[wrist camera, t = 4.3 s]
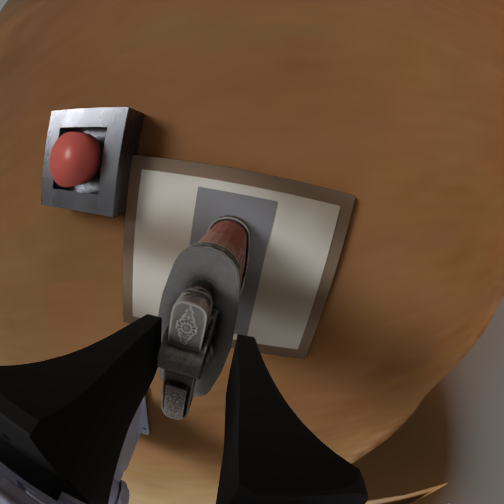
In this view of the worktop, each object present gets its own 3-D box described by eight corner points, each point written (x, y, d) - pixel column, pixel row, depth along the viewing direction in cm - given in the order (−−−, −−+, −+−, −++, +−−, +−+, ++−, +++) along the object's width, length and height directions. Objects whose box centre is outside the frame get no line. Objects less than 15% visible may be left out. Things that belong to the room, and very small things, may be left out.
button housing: (129, 210, 18) (112, 217, 16) (60, 199, 18) (40, 204, 15) (144, 113, 16) (128, 107, 14) (70, 114, 16) (51, 111, 13)
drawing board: (304, 354, 21) (305, 360, 20) (126, 317, 21) (122, 322, 20) (352, 195, 17) (356, 196, 16) (136, 155, 17) (131, 154, 16)
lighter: (209, 208, 17) (139, 256, 7) (261, 222, 17) (252, 289, 8) (186, 316, 19) (134, 418, 10) (231, 328, 19) (205, 441, 10)
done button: (98, 187, 16) (84, 189, 14) (60, 182, 15) (46, 185, 14) (105, 133, 14) (92, 131, 13) (66, 133, 14) (53, 132, 13)
